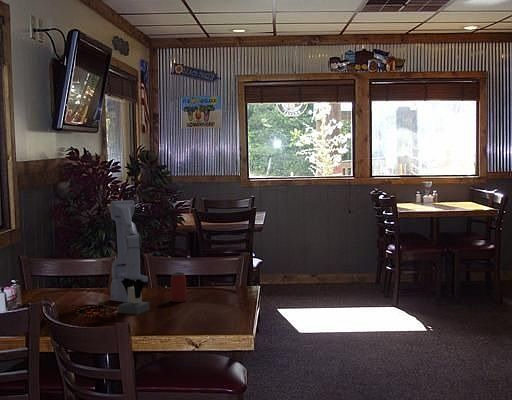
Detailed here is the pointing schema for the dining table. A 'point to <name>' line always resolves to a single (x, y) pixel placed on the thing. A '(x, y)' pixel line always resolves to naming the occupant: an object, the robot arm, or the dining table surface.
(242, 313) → the dining table surface
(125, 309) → the plate
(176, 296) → the beer can
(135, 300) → the cream block
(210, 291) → the dining table surface
